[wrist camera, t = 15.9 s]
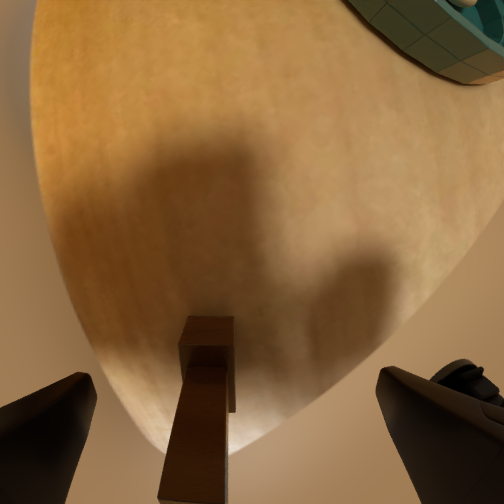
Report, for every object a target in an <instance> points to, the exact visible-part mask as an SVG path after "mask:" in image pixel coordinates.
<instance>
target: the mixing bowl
mask: <svg viewBox="0 0 504 504" xmlns="http://www.w3.org/2000/svg"><path fill="white" fill-rule="evenodd" d="M348 1H349V2H350V3H351V4H352V5H353V6H354V7H355V8H356V9H357V10H358V11H359V13H360V14H361V15H362V16H363V17H364V18H365V19H366V20H367V21H368V22H370V24H371V25H372V26H373V27H375V28H376V29H377V30H379V31H380V32H381V33H382V34H383V35H385V36H386V37H387V38H388V39H389V40H391V41H392V42H393V43H394V44H395V45H396V46H398V47H399V48H400V49H401V50H403V52H405V53H406V54H408V55H410V56H411V57H413V58H414V59H416V60H418V61H419V62H421V63H422V64H424V65H425V66H427V67H428V68H430V69H431V70H433V71H434V72H436V73H438V74H441V75H443V76H446V77H448V78H451V79H453V80H456V81H458V82H460V83H463V84H487V83H490V82H493V81H497V80H500V79H503V78H504V0H477V2H476V4H475V5H473V6H472V7H469V8H462V7H458V6H456V5H454V4H452V3H451V2H449V1H448V0H348Z"/></svg>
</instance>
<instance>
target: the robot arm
mask: <svg viewBox="0 0 504 504" xmlns="http://www.w3.org/2000/svg"><path fill="white" fill-rule="evenodd" d="M483 372H484V368H483V367H481V366H480V367H477V368H474V369H471V370H468V371H465V372H462V373H459V374H456V375H453V376H449V377H446V378H443V379H440V380H439V381H438V382H437V383H434V382H431V381H429V380H426V379H424V378H422V377H419V376H417V375H414V374H412V373H409V372H407V371H405V370H402V369H400V368H397V367H395V366H389V367H384V368H382V369H381V370H380V373H379V378H378V382H377V385H376V397H377V399H378V402H379V405H380V408H381V411H382V414H383V416H384V420H385V422H386V426H387V428H388V431H389V433H390V436H391V438H392V439H393V442H394V444H395V446H396V448H397V450H398V453H399V455H400V457H401V459H402V461H403V463H404V466H405V468H406V470H407V472H408V474H409V476H410V479H411V481H412V483H413V485H414V487H415V490H416V492H417V494H418V497H419V499H420V501H421V504H504V398H503V397H502V396H501V395H500V394H499V392H500V391H499V388H498V387H496V386H495V385H494V384H493V383H492V382H491V381H490V380H488V379H487V378H486V377H485V376H484V375H483ZM96 402H97V393H96V390H95V387H94V384H93V381H92V378H91V376H90V375H89V374H88V373H83V372H76V373H74V374H72V375H70V376H68V377H66V378H64V379H61V380H59V381H57V382H55V383H53V384H51V385H49V386H47V387H45V388H42V389H40V390H38V391H36V392H34V393H32V394H30V395H27V396H25V397H23V398H21V399H18V400H16V401H14V402H12V403H10V404H7V405H5V406H3V407H1V408H0V504H65V501H66V498H67V495H68V492H69V488H70V485H71V482H72V479H73V476H74V473H75V470H76V467H77V465H78V462H79V459H80V456H81V453H82V450H83V448H84V445H85V442H86V439H87V436H88V433H89V429H90V425H91V421H92V417H93V413H94V409H95V406H96Z"/></svg>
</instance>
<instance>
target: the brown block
mask: <svg viewBox="0 0 504 504" xmlns="http://www.w3.org/2000/svg"><path fill="white" fill-rule="evenodd" d="M178 349H179V358H180V366H181V374H182V381H183V384H182V388H181V392H180V397H179V401H178V405H177V409H176V413H175V418H174V422H173V426H172V431H171V435H170V439H169V444H168V448H167V453H166V457H165V462H164V467H163V471H162V476H161V481H160V486H159V491H158V496H157V498H158V501H159V503H160V504H228V416H229V413H235V412H236V395H235V336H234V317H202V316H188V318H187V320H186V323H185V326H184V329H183V332H182V334H181V337H180V340H179V343H178Z"/></svg>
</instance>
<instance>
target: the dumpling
mask: <svg viewBox="0 0 504 504" xmlns="http://www.w3.org/2000/svg"><path fill="white" fill-rule="evenodd" d="M448 1H449V2H451V3H452V4H454V5H456V6H458V7H462V8H469V7H472V6H473V5H475V4H476V2H477V0H448Z"/></svg>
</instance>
